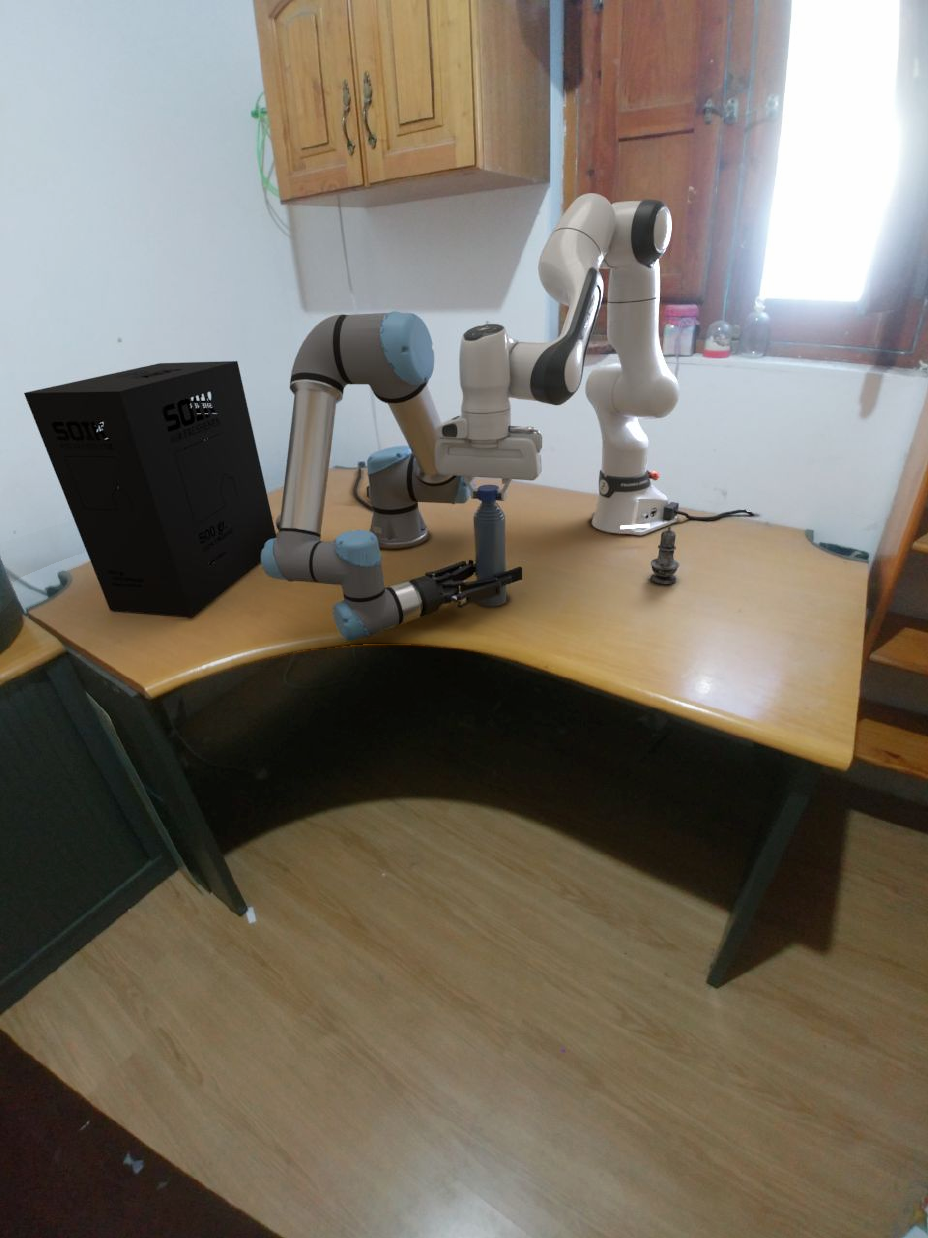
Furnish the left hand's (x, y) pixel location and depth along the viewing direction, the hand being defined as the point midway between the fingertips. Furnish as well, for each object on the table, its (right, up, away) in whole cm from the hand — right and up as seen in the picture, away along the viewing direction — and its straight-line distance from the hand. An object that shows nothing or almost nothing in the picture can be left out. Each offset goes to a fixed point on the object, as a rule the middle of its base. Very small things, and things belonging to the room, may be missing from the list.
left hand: (511, 567), depth 126 cm
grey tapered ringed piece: (+33, -2, +5) cm, 34 cm away
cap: (-5, +14, -11) cm, 19 cm away
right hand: (-5, +12, -10) cm, 17 cm away
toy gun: (-29, +29, +65) cm, 77 cm away
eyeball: (-58, +12, +39) cm, 71 cm away
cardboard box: (-73, -1, +18) cm, 75 cm away
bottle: (-4, -7, +1) cm, 8 cm away
